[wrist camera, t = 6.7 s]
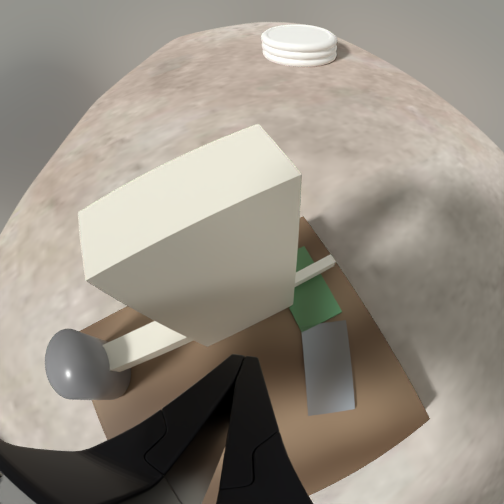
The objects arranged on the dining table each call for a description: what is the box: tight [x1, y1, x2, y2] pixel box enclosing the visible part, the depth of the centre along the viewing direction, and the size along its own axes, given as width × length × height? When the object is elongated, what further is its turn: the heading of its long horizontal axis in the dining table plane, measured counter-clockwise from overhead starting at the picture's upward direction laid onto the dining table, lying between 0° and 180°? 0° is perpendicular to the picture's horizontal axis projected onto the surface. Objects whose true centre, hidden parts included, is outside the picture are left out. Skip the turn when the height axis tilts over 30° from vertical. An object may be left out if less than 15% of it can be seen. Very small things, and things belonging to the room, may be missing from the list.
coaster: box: [261, 24, 337, 67], centre depth 29 cm, size 10×10×4 cm
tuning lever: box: [45, 124, 336, 400], centre depth 10 cm, size 16×4×10 cm, turn 116°
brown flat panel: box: [79, 216, 430, 504], centre depth 14 cm, size 14×17×2 cm
